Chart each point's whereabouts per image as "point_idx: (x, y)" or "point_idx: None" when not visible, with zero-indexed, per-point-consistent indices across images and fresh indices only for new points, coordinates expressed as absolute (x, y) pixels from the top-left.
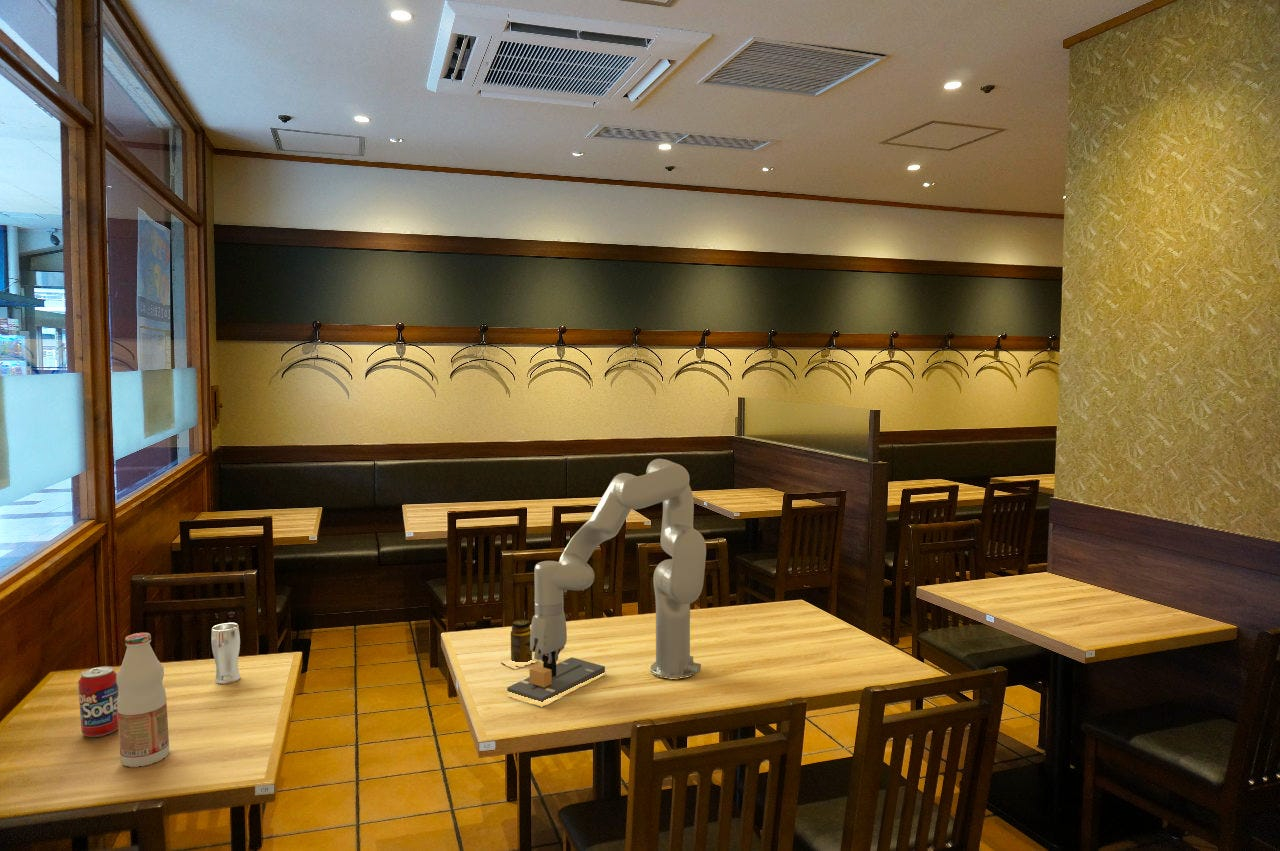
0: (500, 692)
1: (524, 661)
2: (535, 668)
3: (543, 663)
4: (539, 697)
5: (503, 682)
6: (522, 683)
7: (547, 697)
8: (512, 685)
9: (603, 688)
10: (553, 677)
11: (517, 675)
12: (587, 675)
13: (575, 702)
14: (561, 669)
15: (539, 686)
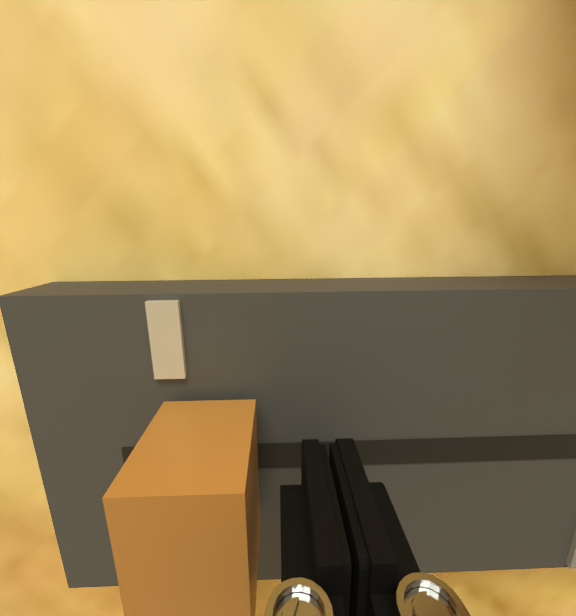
0: (63, 184)
1: None
2: (165, 532)
3: (315, 534)
4: (68, 572)
5: (202, 52)
6: (143, 338)
7: None
8: (56, 302)
9: (469, 592)
10: (370, 442)
11: (375, 44)
12: (514, 566)
13: (263, 595)
14: (531, 387)
15: None
